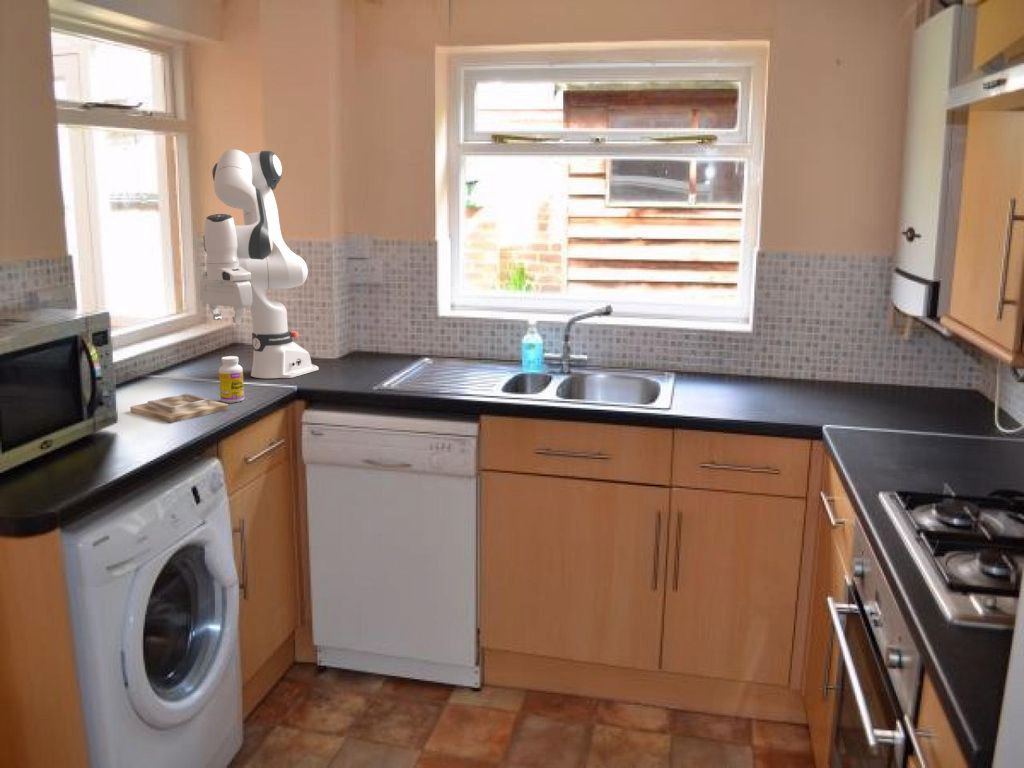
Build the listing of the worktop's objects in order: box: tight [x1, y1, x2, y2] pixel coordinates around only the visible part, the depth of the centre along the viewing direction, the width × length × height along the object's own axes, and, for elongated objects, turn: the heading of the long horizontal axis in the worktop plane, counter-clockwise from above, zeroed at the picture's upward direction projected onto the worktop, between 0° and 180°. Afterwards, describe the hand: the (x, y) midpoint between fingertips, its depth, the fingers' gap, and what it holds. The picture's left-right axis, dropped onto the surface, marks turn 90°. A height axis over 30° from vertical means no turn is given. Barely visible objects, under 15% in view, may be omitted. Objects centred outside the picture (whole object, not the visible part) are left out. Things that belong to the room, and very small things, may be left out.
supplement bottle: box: [218, 355, 245, 404], centre depth 267 cm, size 7×7×13 cm
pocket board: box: [129, 392, 230, 424], centre depth 257 cm, size 18×20×3 cm
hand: (227, 321), depth 264 cm, fingers open, 8 cm apart
